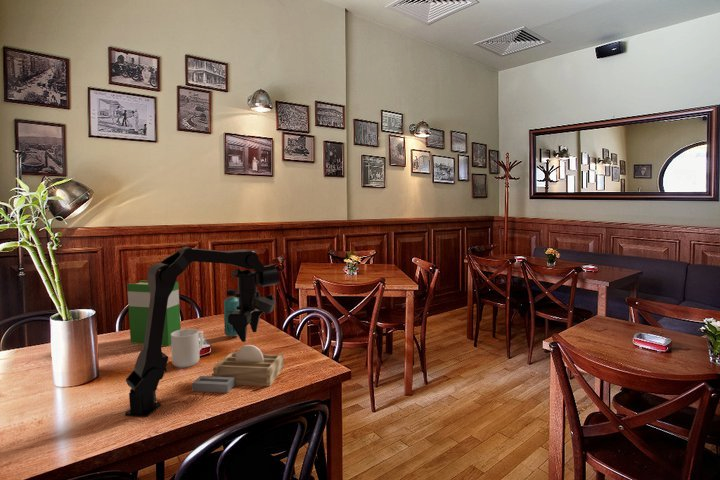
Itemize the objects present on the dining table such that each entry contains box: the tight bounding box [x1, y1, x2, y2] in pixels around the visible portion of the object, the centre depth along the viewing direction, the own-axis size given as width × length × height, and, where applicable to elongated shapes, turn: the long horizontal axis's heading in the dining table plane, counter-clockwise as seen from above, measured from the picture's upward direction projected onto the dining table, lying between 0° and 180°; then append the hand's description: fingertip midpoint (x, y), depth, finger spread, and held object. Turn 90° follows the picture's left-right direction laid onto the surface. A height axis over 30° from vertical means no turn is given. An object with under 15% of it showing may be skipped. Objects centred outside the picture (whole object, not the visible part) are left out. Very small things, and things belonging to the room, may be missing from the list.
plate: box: [235, 344, 264, 362], centre depth 132 cm, size 1×9×9 cm, turn 83°
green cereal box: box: [126, 279, 182, 347], centre depth 165 cm, size 18×7×24 cm, turn 77°
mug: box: [170, 328, 204, 369], centre depth 144 cm, size 12×9×11 cm
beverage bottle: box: [223, 288, 241, 337], centre depth 169 cm, size 6×7×20 cm
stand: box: [191, 375, 236, 394], centre depth 124 cm, size 5×11×2 cm, turn 84°
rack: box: [212, 350, 285, 387], centre depth 133 cm, size 14×18×5 cm
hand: (249, 336), depth 132 cm, fingers open, 9 cm apart
